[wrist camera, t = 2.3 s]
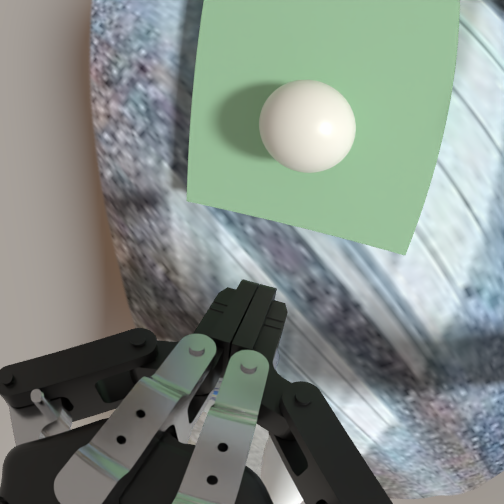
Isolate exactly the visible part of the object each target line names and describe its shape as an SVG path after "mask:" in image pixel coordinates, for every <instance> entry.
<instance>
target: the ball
mask: <svg viewBox="0 0 504 504" xmlns="http://www.w3.org/2000/svg"><path fill="white" fill-rule="evenodd" d="M259 131H260V136H261V139H262V142H263V144H264V146H265V148H266V149H267V151H268V152H269V154H270V155H271V156H272V157H273V158H274V159H275V160H276V161H277V162H279V163H280V164H281V165H283V166H285V167H287V168H289V169H291V170H294V171H298V172H303V173H315V172H321V171H324V170H327V169H330V168H332V167H334V166H335V165H337V164H338V163H339V162H341V161H342V160H343V159H344V158H345V156H346V155H347V154H348V152H349V151H350V149H351V147H352V145H353V142H354V139H355V133H356V123H355V117H354V114H353V111H352V109H351V106H350V105H349V103H348V102H347V100H346V99H345V98H344V96H343V95H342V94H341V93H339V92H338V91H337V90H336V89H334V88H333V87H331V86H329V85H328V84H325V83H323V82H319V81H315V80H296V81H292V82H289V83H286V84H284V85H282V86H281V87H279V88H277V89H276V90H275V91H274V92H273V93H272V94H271V95H270V96H269V97H268V99H267V100H266V101H265V103H264V105H263V107H262V110H261V113H260V118H259Z"/></svg>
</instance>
